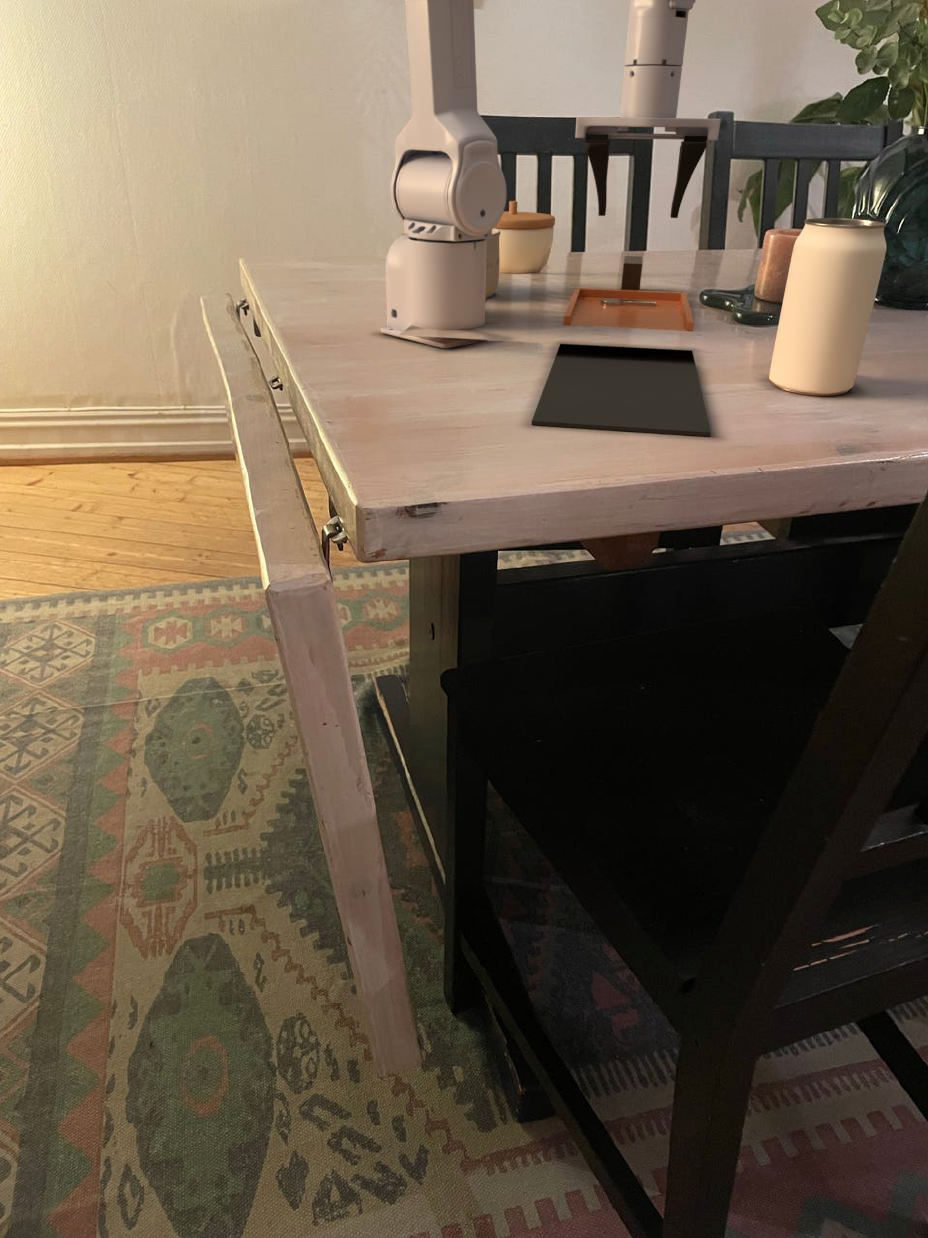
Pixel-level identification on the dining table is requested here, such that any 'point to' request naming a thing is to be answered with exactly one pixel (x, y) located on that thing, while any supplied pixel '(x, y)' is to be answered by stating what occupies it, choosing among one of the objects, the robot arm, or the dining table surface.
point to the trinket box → (524, 240)
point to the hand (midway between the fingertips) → (637, 216)
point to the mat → (623, 391)
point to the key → (626, 302)
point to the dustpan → (665, 316)
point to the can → (827, 305)
